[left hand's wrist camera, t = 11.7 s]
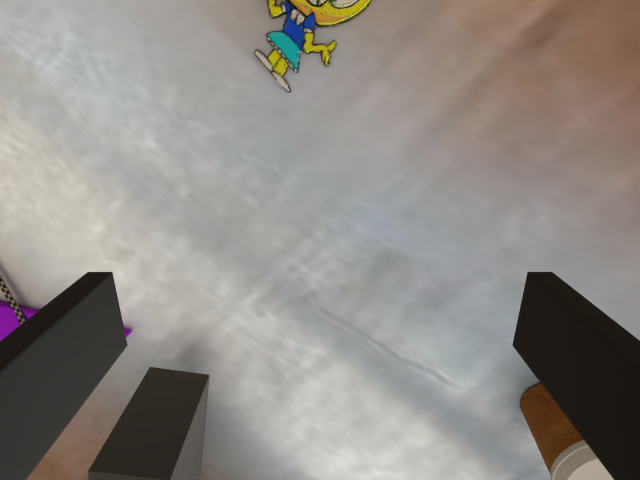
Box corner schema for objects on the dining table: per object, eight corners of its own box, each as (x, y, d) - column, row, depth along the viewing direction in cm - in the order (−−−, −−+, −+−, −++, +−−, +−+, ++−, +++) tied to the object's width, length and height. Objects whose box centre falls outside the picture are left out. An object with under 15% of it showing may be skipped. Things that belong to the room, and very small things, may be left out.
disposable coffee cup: (570, 361, 50) (643, 439, 39) (588, 413, 53) (660, 500, 42) (498, 388, 51) (547, 471, 40) (519, 437, 54) (571, 527, 43)
